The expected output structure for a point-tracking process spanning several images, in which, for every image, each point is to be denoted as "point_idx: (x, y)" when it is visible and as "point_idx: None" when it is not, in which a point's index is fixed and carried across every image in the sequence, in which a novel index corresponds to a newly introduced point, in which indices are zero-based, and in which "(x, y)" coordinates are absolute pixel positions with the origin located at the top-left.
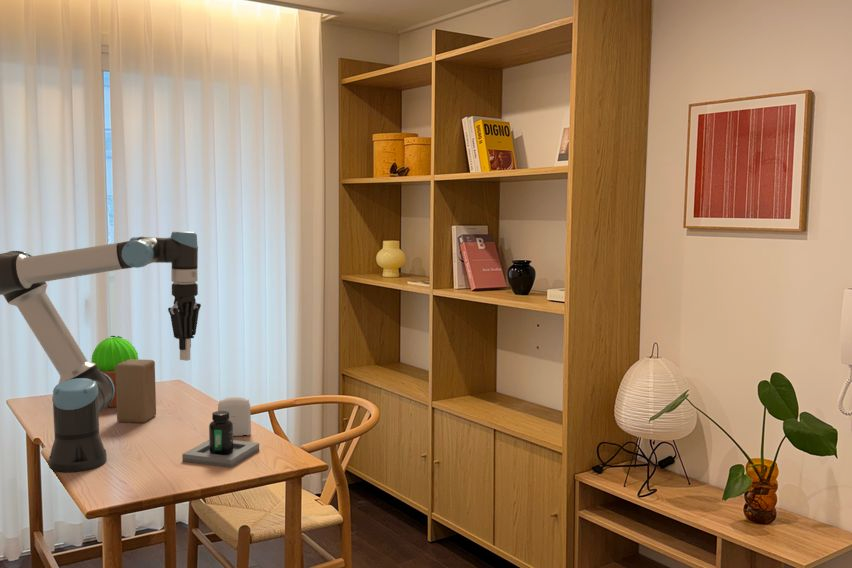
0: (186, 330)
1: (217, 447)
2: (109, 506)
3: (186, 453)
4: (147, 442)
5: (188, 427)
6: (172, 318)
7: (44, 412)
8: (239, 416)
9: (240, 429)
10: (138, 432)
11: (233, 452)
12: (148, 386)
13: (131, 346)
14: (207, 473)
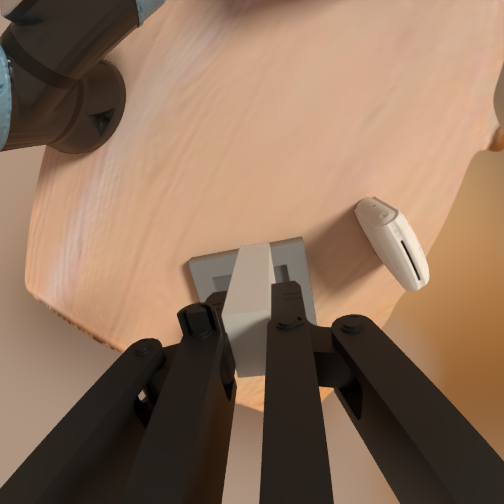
0: (225, 434)
1: None
2: (40, 299)
3: (194, 268)
4: (236, 96)
5: (371, 94)
6: (24, 489)
7: None
8: (386, 264)
9: (377, 254)
10: (279, 24)
11: None
12: None
13: None
14: (178, 332)
